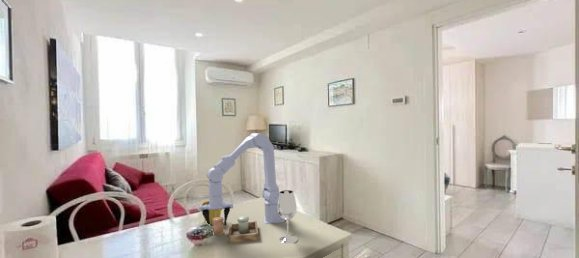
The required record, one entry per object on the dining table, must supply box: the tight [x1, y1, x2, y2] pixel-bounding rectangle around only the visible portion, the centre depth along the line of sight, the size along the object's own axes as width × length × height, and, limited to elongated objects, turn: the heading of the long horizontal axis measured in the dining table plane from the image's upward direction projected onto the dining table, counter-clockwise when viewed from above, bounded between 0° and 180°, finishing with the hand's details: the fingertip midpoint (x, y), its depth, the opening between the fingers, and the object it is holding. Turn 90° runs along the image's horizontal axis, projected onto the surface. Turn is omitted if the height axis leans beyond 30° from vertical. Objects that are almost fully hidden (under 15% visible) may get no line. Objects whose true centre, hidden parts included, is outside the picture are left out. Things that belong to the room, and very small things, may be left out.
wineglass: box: [278, 189, 298, 244], centre depth 110 cm, size 8×8×20 cm
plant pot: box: [200, 200, 223, 226], centre depth 132 cm, size 10×10×10 cm
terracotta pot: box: [212, 216, 224, 235], centre depth 120 cm, size 5×5×6 cm
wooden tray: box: [227, 220, 259, 244], centre depth 117 cm, size 12×14×3 cm
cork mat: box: [213, 228, 226, 236], centre depth 120 cm, size 7×7×1 cm
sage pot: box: [236, 215, 250, 233], centre depth 120 cm, size 5×5×6 cm
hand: (217, 225), depth 120 cm, fingers open, 6 cm apart
